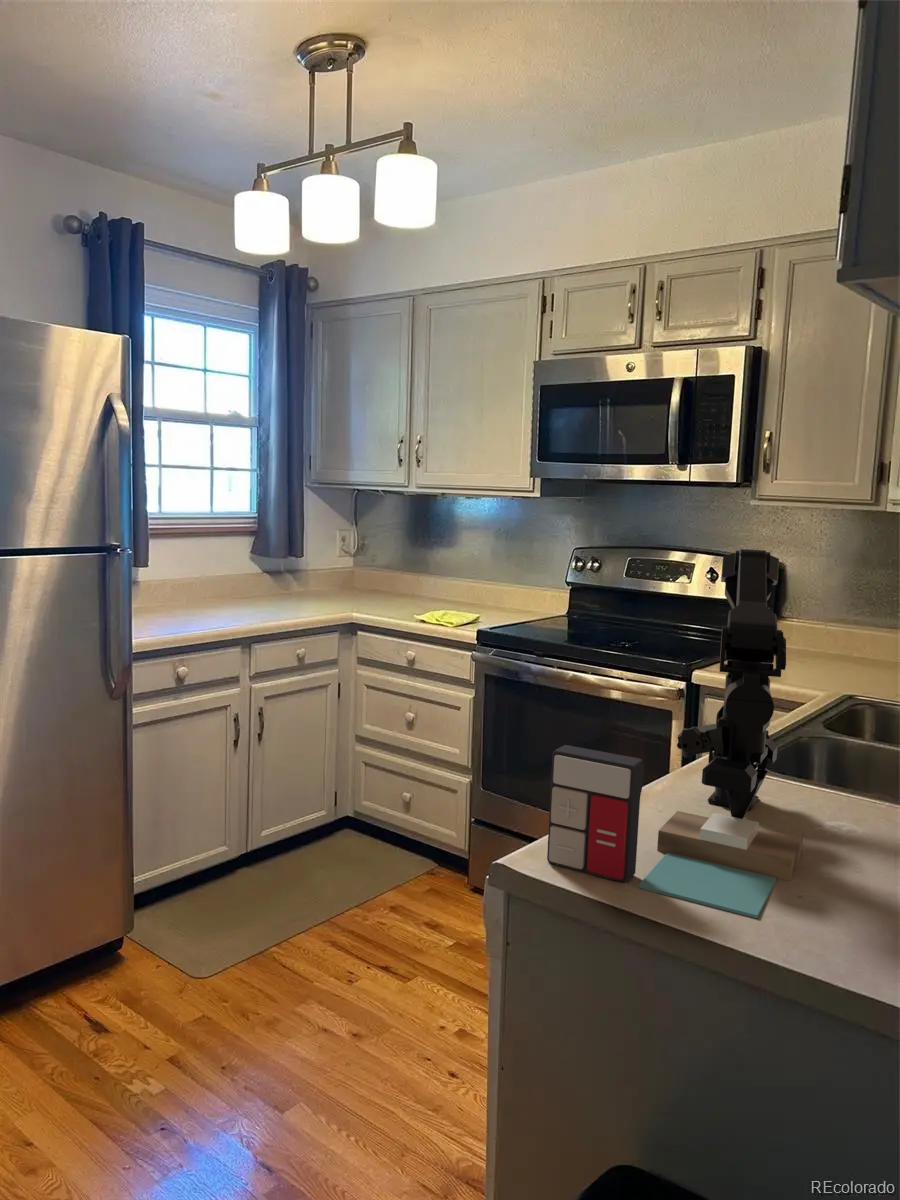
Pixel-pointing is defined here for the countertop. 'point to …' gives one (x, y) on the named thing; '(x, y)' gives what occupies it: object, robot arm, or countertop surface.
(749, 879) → the mat
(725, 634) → the robot arm
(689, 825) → the wooden board
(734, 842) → the tile
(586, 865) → the calculator
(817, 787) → the countertop surface
